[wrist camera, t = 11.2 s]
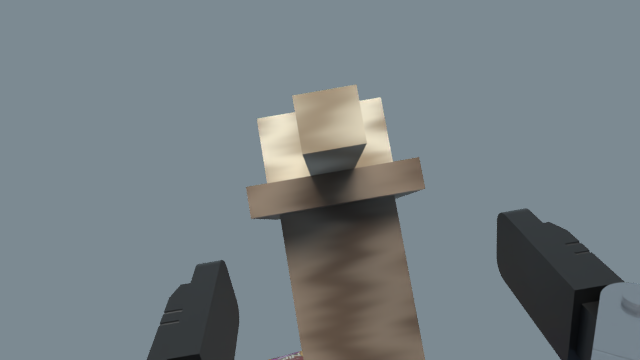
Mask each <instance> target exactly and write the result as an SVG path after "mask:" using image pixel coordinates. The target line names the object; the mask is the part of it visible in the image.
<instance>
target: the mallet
mask: <svg viewBox="0 0 640 360" xmlns="http://www.w3.org/2000/svg"><path fill="white" fill-rule="evenodd" d="M293 102H294V108H295V112H294V113H287V114H282V115H276V116H270V117H264V118H258V119H257V122H258V128H259V134H260V141H261V147H262V153H263V159H264V165H265V172H266V177H267V183H272V182H278V181H284V180H290V179H296V178H302V177H307V176H313V175H319V174H325V173H331V172H336V171H342V170H348V169H354V168H360V167H365V166H371V165H377V164H383V163H389V162H393V160H392V155H391V149H390V144H389V139H388V133H387V128H386V123H385V117H384V112H383V107H382V101H381V98H375V99H369V100H363V101H359V97H358V91H357V86H356V85H351V86H346V87H340V88H334V89H328V90H323V91H316V92H311V93H305V94H299V95H293Z"/></svg>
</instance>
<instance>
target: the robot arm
mask: <svg viewBox="0 0 640 360" xmlns="http://www.w3.org/2000/svg"><path fill="white" fill-rule="evenodd" d="M497 264H498V268H499V271H500V274H501V276H502V278H503V279H504V281H505V282H506V284H507V285H508V286H509V288H510V289H511V291H512V292H513V293H514V295H515V296H516V298H517V299H518V300H519V302H520V303H521V304H522V306H523V307H524V309H525V310H526V311H527V313H528V314H529V316H530V317H531V318H532V320H533V321H534V323H535V324H536V325H537V327H538V328H539V330H540V331H541V332H542V334H543V335H544V336H545V338H546V339H547V341H548V342H549V343H550V345H551V346H552V347H553V349H554V350H555V352H556V353H557V354H558V356H559V357H560V359H561V360H640V284H637V283H628V282H624V281H623V280H622V279H621V278H620V277H618V276H617V275H616V274H615V273H614V272H613V271H612V270H610V268H608V267H607V266H606V265H605V264H604V263H603V262H602V261H601V260H600V259H598V258H597V257H596V256H595V255H594V254H593V253H590V252H589V250H588V249H587V248H586V247H585V246H584V245H583V244H580V243H579V241H578V240H577V239H576V238H575V237H574V236H573V235H572V234H571V233H570V232H568V231H567V230H565V229H563V228H561V227H559V226H556V225H555V224H552V223H550V222H547V223H542V222H541V221H540V220H539V219H538V218H537V217H536V216H535V215H534V214H533V213H532V212H531V211H530V210H528V209H520V210H514V211H509V212H503V213H500V214H499V215H498V218H497ZM164 313H165V314H164V315H163V317H162V319H161V322H160V326H159V328H158V331H157V333H156V336H155V339H154V341H153V344H152V347H151V350H150V352H149V355H148V358H147V360H234V356H235V349H236V342H237V334H238V327H239V310H238V304H237V300H236V297H235V293H234V290H233V287H232V283H231V280H230V277H229V273H228V270H227V267H226V264H225V262H224V261H223V260H220V261H215V262H209V263H203V264H198V265H197V266H196V268H195V271H194V274H193V277H192V281H191V283H189V284H183V285H180V287H179V288H178V289H177V290H176V291H175V292H174V293H173V294H172V295H171V297H170V298H169V300H168V303H167V306H166V308H165V311H164Z"/></svg>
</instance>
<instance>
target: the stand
mask: <svg viewBox="0 0 640 360" xmlns="http://www.w3.org/2000/svg"><path fill="white" fill-rule="evenodd" d="M246 189H247V195H248V202H249V208H250V214H251V218H252V219H275V220H276V219H281V224H282V230H283V237H284V243H285V248H286V254H287V261H288V266H289V273H290V280H291V285H292V292H293V298H294V304H295V310H296V317H297V323H298V329H299V335H300V341H301V347H302V354H303V360H425V357H424V352H423V346H422V341H421V335H420V330H419V325H418V319H417V314H416V309H415V304H414V298H413V293H412V287H411V282H410V277H409V271H408V266H407V261H406V255H405V250H404V245H403V239H402V234H401V229H400V223H399V218H398V213H397V208H396V202H395V199H396V198H399V197H402V196H405V195H408V194H411V193H414V192H417V191H420V190H422V189H425V185H424V180H423V175H422V170H421V165H420V160H419V157H418V158H412V159H406V160H400V161H395V162H389V163H383V164H377V165H371V166H365V167H360V168H354V169H348V170H342V171H336V172H331V173H325V174H319V175H313V176H307V177H302V178H296V179H290V180H284V181H278V182H272V183H267V184H261V185H255V186H249V187H246Z"/></svg>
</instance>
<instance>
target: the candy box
mask: <svg viewBox="0 0 640 360" xmlns="http://www.w3.org/2000/svg"><path fill="white" fill-rule="evenodd" d="M269 360H303V354H302V351H300V352H296V353H292V354H289V355H286V356H282V357H278V358H273V359H269Z"/></svg>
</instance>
